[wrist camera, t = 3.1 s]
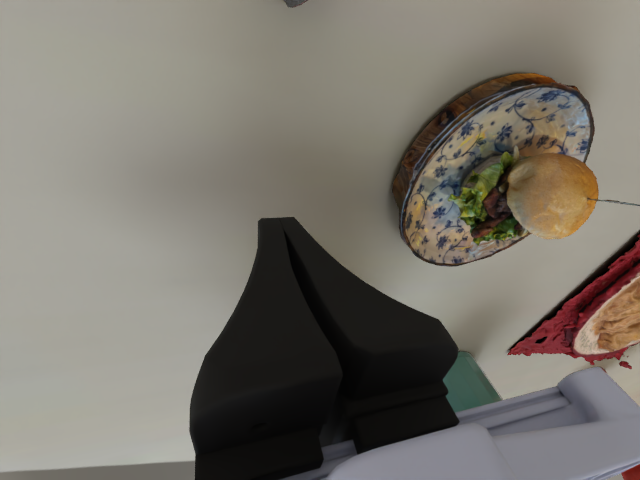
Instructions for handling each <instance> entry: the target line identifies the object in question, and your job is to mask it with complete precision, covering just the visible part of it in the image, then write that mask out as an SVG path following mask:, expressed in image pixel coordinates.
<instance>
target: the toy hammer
mask: <svg viewBox="0 0 640 480" xmlns="http://www.w3.org/2000/svg"><path fill="white" fill-rule="evenodd" d="M284 1H285V2H286V4H287V6H288V7H292V8H293V7H296V6H299V5H301V4H303V3H304V2H306V1H307V0H284Z"/></svg>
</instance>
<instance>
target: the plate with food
mask: <svg viewBox="0 0 640 480" xmlns="http://www.w3.org/2000/svg"><path fill="white" fill-rule="evenodd" d="M637 237H640V234H639V235H638V236H637ZM608 268H610V270H609V271H608V272H606V273H605V274H604V275H603V276H600V277H598V278H596V279H595V281H593V282H592V283H591V284H589V285H588V286H587V287H585V288H584V290H583V291H582V292H581V293H580V294H578V295H576V296H575V297H574V298H572V299H570V300H569V301H567V302H565V303H564V305H563V307H562V309H561V310H559V311H558V312H557V315H556V316H555V317H552V318H551V319H550V320H545V321H544V322H543V323H542V325H541V326H540V327H539V328H537V330H536V331H535V332H534V333H532V337H526V338H525V340H523V341H521V342H518V344H516V346H515V347H514V348H512V349H511V350H510V352H509V353H508V355H511V354H513V355H516V354H518V355H520V354H521V353H523V354H524V355H526V356H530V355H531V354H532V353H541V354H543V353H548V354H549V353H550V354H552V353H554V354H556V353H560V354H561V353H564V354H566V355H570V356H572V357H573V358H577V357H583V358H585V360H586V361H588V362H590V365H594V362H593V361H594V360H598V361H601V360H603V359H605V358H607V359H611V358H613V357H615V358H617V359H618V360H620V357H621V355H623V352H624V351H625V350H627V349H628V346H633V345H635V344H638V343H639V342H640V239H639V240H638V241H637V242H636V243H635V246H634V247H633V248H632V249H630V251H628V252H625V254H624V256H620V257H619V258H618V259H617V260H616V261H615V262H614V263H612V264H611V266H609V267H608ZM546 336H547V338H545V339H544V340H543V341H542V342H541V343H540V344H538V343H535V342H536V340H537V339H542V338H543V337H546ZM627 357H628V356H627ZM628 364H629V363H628V362H625V361H621V362H620V363H619V365H620V366H623V367H625V368H629V369H632V367H631V366H630V365H628Z"/></svg>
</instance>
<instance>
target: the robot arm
mask: <svg viewBox="0 0 640 480" xmlns="http://www.w3.org/2000/svg"><path fill="white" fill-rule="evenodd" d="M457 357H458V347H457V345H456V344H455V342H454V341H453V339H452V338H451V336H450V334H449V333H448V331H447V330H446V329H445V327H444V326H443V324H442V323H441V322H440V321H439V320H438V319H436V318H434V317H431V316H429V315H427V314H424V313H422V312H420V311H417V310H415V309H412V308H410V307H408V306H406V305H404V304H402V303H400V302H398V301H396V300H394V299H392V298H391V297H389V296H387V295H385V294H383V293H382V292H380V291H378V290H377V289H375V288H373V287H372V286H370V285H368V284H367V283H365V282H364V281H362V280H361V279H359V278H358V277H357V276H355V275H354V274H353V273H351V272H350V271H349V270H347V269H346V268H345V267H343V266H342V265H341V264H340V263H339V262H337V261H336V260H335V259H334V258H333V257H332V256H331V255H330V254H328V253H327V252H326V251H325V250H324V249H323V248H322V247H321V246H320V245H319V244H318V243H317V242H316V241H315V240H314V239H313V238H312V236H311V235H310V234H309V233H308V232H307V231H306V230H305V229H304V228H303V227H302V225H301V224H300V223H299V222H298V221H297V220H296V219H295V218H294V217H283V218H261V219H260V220H259V221H258V249H257V254H256V258H255V261H254V264H253V268H252V271H251V274H250V277H249V279H248V282H247V285H246V287H245V289H244V292H243V294H242V296H241V298H240V300H239V302H238V304H237V306H236V308H235V310H234V312H233V314H232V315H231V317H230V319H229V321H228V322H227V324H226V326H225V327H224V329H223V331H222V332H221V334H220V335H219V337H218V338H217V340H216V341H215V342H214V344H213V345H212V347H211V348H210V350H209V351H208V353H207V354H206V355H205V358H204V361H203V363H202V366H201V369H200V371H199V374H198V377H197V380H196V383H195V386H194V390H193V394H192V398H191V404H190V435H191V439H192V442H193V446H194V450H195V453H196V457H195V480H606V479H608V478H610V477H613V476H616V475H618V474H620V473H622V472H624V471H626V470H628V469H630V468H632V467H634V466H636V465H638V464H640V407H639V406H638V405H637V404H636V403H635V402H634V401H633V400H632V399H631V398H630V397H629V396H628V394H627V393H626V392H625V391H624V390H623V389H622V388H621V387H620V386H619V385H618V384H617V383H616V382H615V381H614V380H613V379H612V378H611V377H610V376H609V375H608V374H607V373H606V372H605V371H604V370H603V369H602V368H601V367H593V368H589V369H585V370H581V371H577V372H574V373H572V374H570V375H568V376H566V377H565V378H564V379H563V380H561V381H560V382H559V383H558V385H557V386H556V387H552V388H548V389H544V390H540V391H536V392H533V393H529V394H525V395H521V396H517V397H513V398H510V399H506V400H502V401H498V402H494V403H490V404H486V405H483V406H479V407H475V408H471V409H467V410H463V411H460V412H456V413H455V412H454V410H453V409H452V407H451V405H450V403H449V402H448V400H447V398H446V395H447V394H448V389H447V387H446V385H445V384H444V382H443V379H444V377H445V376H446V374H447V373H448V372H449V370H450V369H451V367H452V366H453V365H454V363H455V361H456V359H457Z"/></svg>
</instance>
